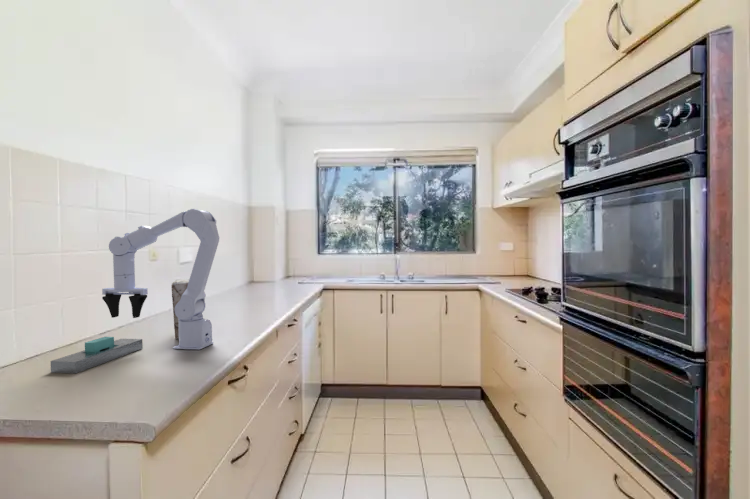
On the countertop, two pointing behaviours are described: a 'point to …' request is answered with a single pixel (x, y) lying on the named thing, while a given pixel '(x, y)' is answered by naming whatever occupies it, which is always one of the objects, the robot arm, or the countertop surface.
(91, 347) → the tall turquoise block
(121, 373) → the countertop surface
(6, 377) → the countertop surface
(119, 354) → the rail
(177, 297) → the stone block
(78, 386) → the countertop surface
